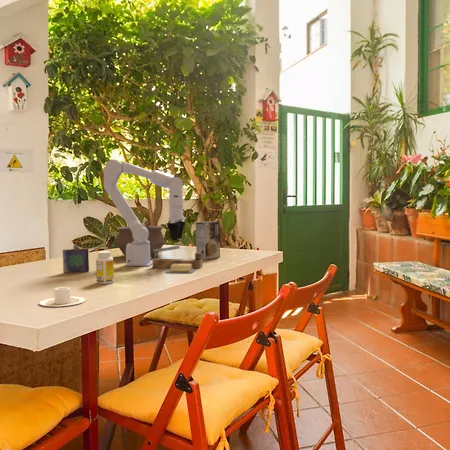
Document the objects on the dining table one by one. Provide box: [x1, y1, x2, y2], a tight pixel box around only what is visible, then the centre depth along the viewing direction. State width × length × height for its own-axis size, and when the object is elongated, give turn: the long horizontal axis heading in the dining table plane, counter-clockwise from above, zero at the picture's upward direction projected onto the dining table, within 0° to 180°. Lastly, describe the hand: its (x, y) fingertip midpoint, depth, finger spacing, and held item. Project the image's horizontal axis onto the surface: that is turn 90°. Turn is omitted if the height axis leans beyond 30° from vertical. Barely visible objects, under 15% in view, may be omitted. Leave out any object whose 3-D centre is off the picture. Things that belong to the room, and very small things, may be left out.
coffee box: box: [195, 220, 221, 260], centre depth 221 cm, size 9×6×16 cm
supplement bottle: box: [95, 250, 115, 285], centre depth 163 cm, size 6×6×10 cm
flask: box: [62, 243, 90, 275], centre depth 186 cm, size 9×3×11 cm, turn 109°
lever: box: [153, 245, 181, 259], centre depth 201 cm, size 15×2×4 cm, turn 147°
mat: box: [164, 268, 197, 274], centre depth 185 cm, size 10×8×1 cm
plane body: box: [151, 252, 204, 269], centre depth 195 cm, size 19×4×6 cm, turn 82°
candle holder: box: [38, 286, 86, 308], centre depth 135 cm, size 12×12×4 cm
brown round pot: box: [115, 219, 166, 259], centre depth 228 cm, size 24×24×16 cm
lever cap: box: [170, 264, 193, 272], centre depth 185 cm, size 7×5×2 cm
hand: (176, 239), depth 205 cm, fingers open, 7 cm apart
